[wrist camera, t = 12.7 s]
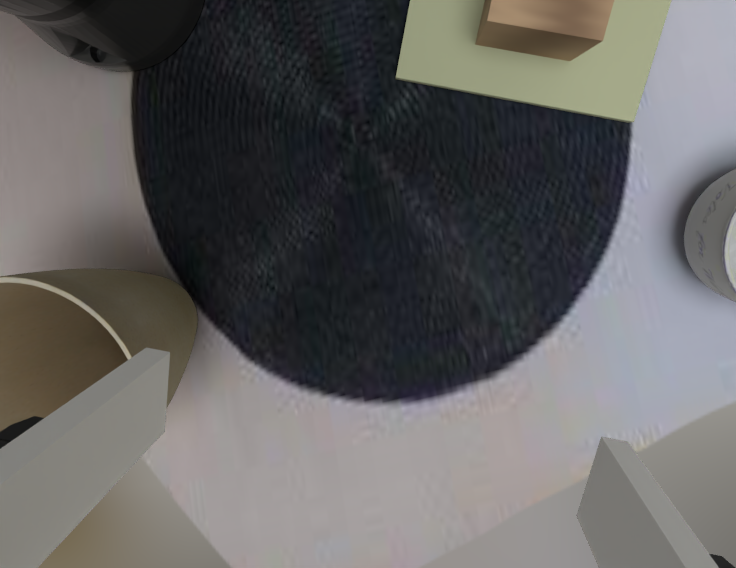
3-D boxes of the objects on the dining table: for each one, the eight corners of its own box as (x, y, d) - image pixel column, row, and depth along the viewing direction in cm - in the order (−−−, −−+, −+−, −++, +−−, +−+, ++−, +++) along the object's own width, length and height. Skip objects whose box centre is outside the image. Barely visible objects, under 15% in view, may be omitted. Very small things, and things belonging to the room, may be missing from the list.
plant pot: (77, 226, 45) (-99, 263, 30) (239, 245, 44) (143, 293, 29) (84, 379, 49) (-69, 482, 34) (234, 400, 48) (147, 516, 33)
